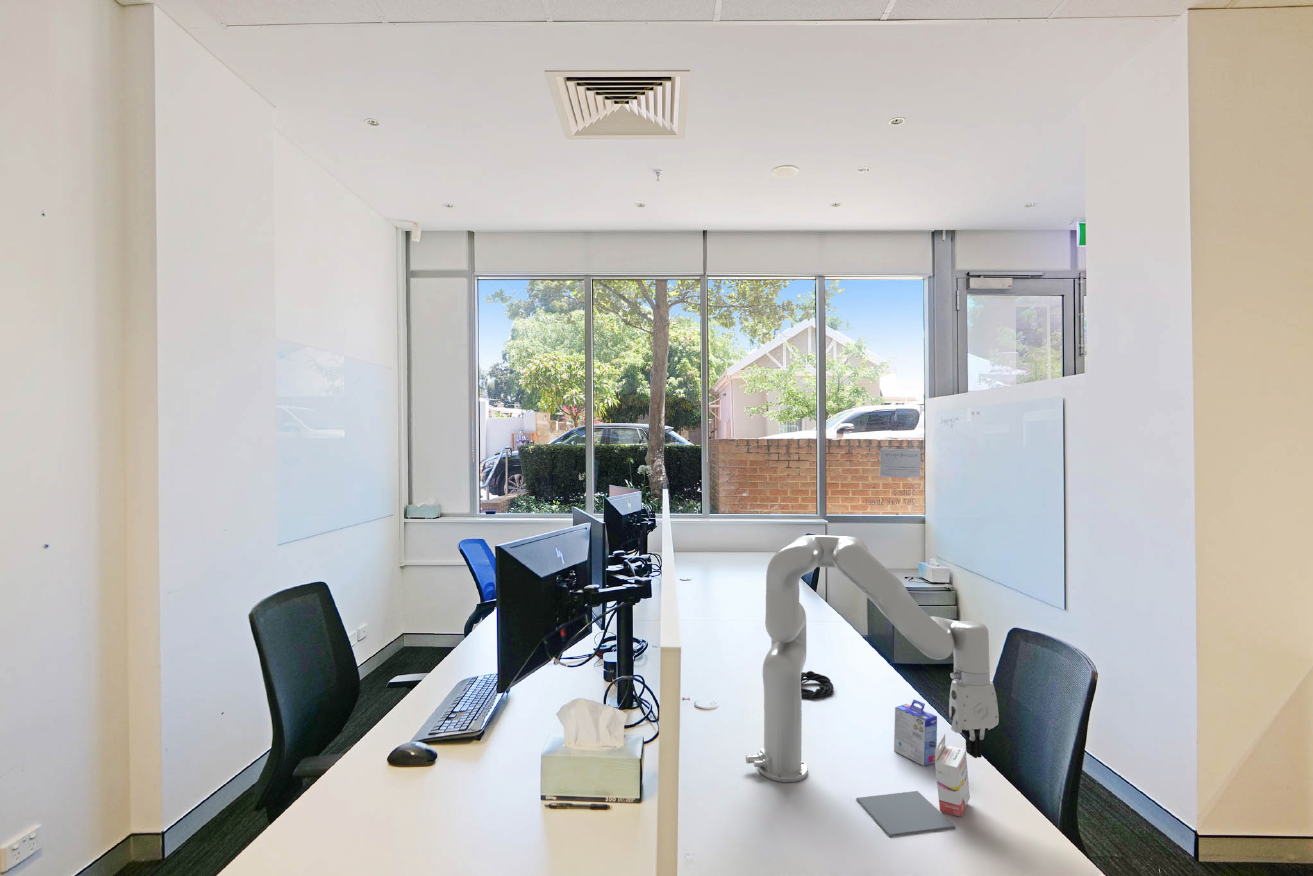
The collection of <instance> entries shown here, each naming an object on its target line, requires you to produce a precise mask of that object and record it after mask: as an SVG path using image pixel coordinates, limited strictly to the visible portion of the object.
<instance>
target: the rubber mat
mask: <svg viewBox="0 0 1313 876" xmlns="http://www.w3.org/2000/svg"><path fill="white" fill-rule="evenodd" d="M855 799H856V802H857V803H858V804H859V805H860V806H861V807H862V808H863V809H864V810H865V811H866V813H867V814H868V815H869V816H870V817H871V818H872V819H873V820H874V821H875V823H876V824H877V825H878V826H879V827H880V828H881V829H882V831H883V832H885V833H886V835H887V836H888V837H897V836H906V835H914V834H919V833H920V834H921V833H928V832H937V831H942V830H943V831H944V830H951V829H956V824H954V823H953V822H952V821H951V820H950V819H948V817H946V816H945V815H944V814H943V812H942V811H940V809H938V808H937V807H935V806H934V805H933V803H931V802H930V801H929V800H928V799H927V798H926V797H925V796H923V795H922V794H921V793H920V792H919V791H918V790H916V791H915V790H914V791H907V792H905V791H904V792H896V793H889V794H888V793H887V794H878V795H872V796H871V795H869V796H862V797H856V798H855Z"/></svg>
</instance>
